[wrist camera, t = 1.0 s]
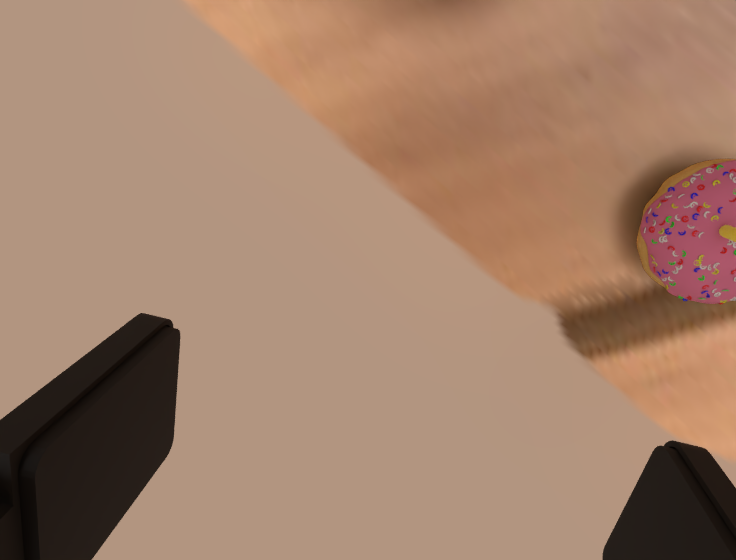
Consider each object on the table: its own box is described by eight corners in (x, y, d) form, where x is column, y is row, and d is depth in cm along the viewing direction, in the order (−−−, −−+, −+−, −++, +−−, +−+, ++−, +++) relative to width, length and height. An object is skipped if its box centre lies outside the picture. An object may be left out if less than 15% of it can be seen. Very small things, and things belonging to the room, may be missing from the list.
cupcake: (587, 228, 35) (659, 291, 24) (684, 121, 32) (819, 135, 21) (682, 299, 36) (795, 393, 25) (785, 201, 33) (967, 257, 22)
